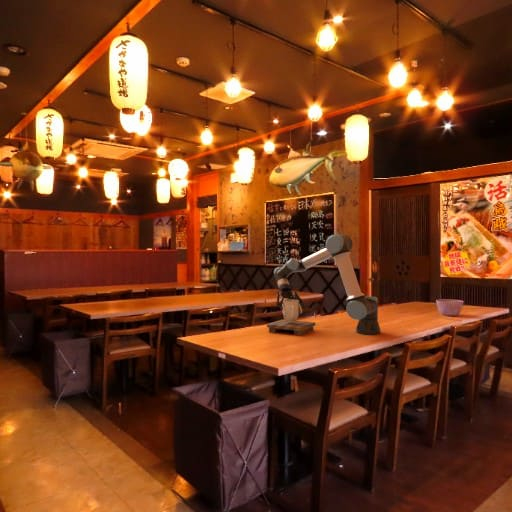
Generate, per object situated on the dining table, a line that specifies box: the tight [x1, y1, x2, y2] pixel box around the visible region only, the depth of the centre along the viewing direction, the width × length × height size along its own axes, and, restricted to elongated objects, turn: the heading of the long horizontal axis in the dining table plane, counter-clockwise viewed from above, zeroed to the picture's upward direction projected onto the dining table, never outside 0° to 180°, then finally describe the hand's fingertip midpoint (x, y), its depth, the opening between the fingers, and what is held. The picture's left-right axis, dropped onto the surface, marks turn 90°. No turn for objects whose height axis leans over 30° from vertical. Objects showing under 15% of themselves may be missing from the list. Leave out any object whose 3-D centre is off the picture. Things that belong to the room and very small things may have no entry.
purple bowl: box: [435, 298, 465, 317], centre depth 335 cm, size 20×20×12 cm
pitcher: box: [281, 298, 300, 322], centre depth 277 cm, size 11×18×14 cm, turn 4°
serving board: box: [266, 318, 316, 336], centre depth 278 cm, size 24×22×5 cm
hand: (293, 313), depth 275 cm, fingers closed on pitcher, 11 cm apart
